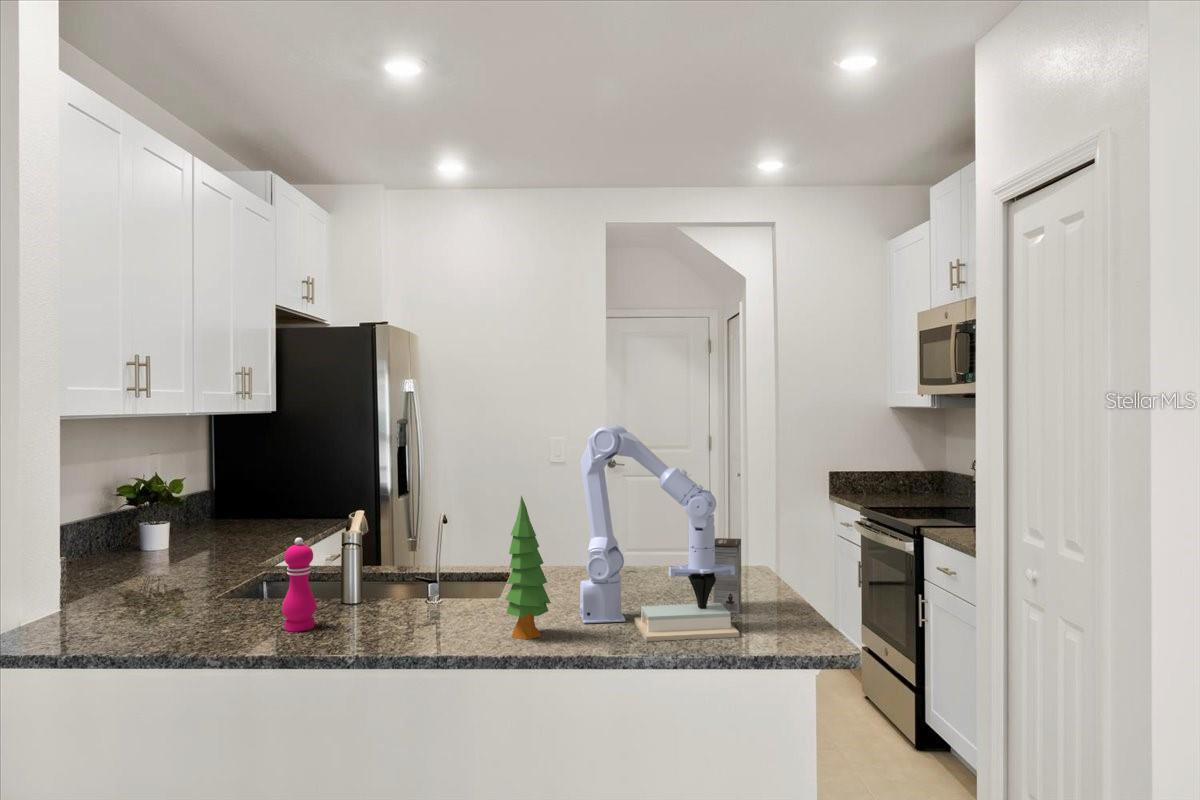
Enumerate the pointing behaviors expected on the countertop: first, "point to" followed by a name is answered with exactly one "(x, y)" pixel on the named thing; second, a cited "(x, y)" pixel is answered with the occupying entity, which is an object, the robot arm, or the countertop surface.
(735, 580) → the coffee box
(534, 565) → the decorative tree
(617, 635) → the countertop surface
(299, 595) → the pepper mill
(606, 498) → the robot arm
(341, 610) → the countertop surface
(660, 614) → the panel
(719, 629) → the duct base
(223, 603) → the countertop surface
